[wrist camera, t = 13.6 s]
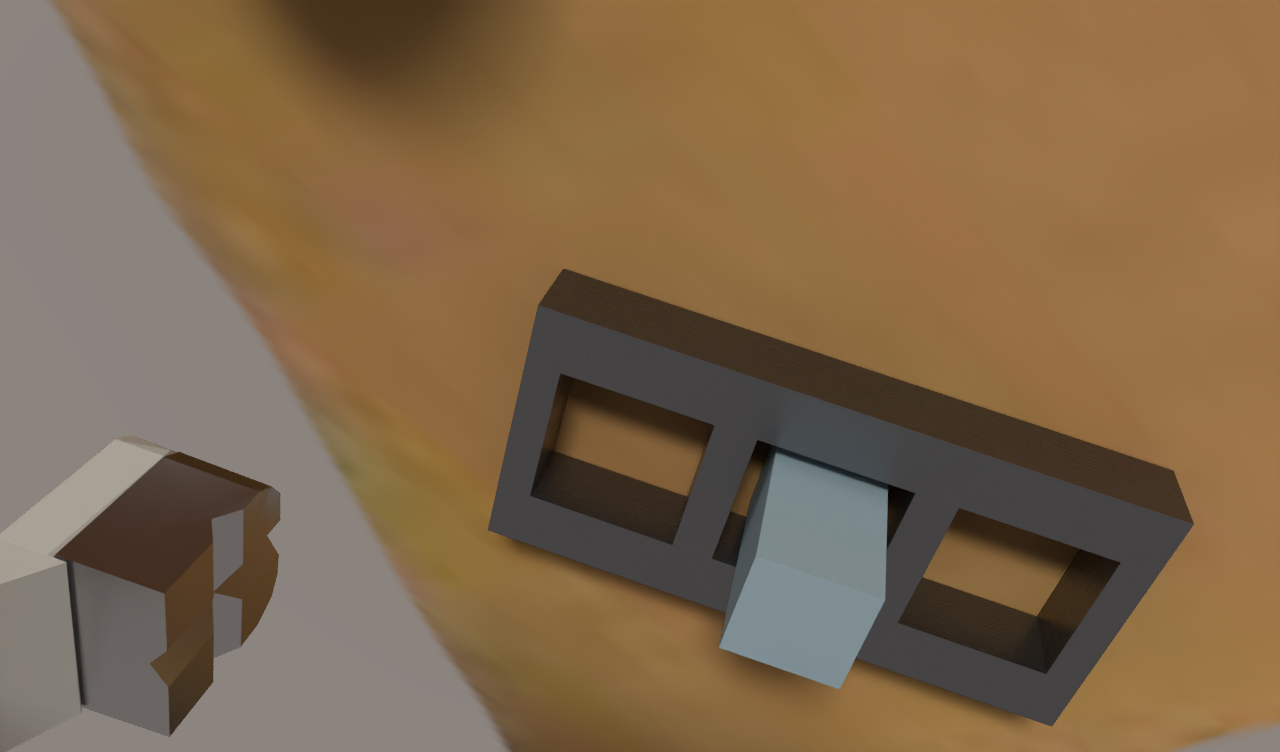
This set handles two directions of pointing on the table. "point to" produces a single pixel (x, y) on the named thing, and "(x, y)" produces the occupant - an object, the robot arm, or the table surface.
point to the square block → (808, 568)
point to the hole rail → (852, 440)
